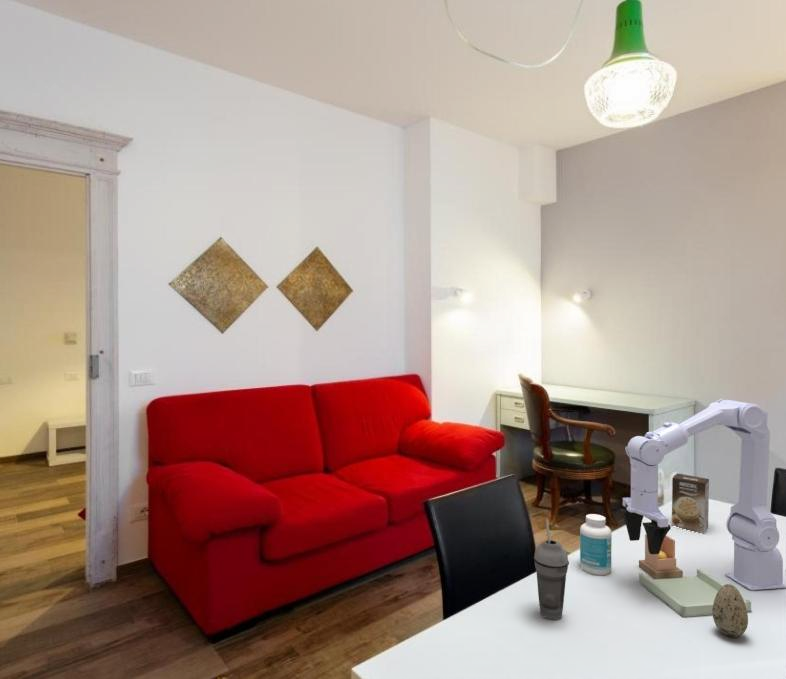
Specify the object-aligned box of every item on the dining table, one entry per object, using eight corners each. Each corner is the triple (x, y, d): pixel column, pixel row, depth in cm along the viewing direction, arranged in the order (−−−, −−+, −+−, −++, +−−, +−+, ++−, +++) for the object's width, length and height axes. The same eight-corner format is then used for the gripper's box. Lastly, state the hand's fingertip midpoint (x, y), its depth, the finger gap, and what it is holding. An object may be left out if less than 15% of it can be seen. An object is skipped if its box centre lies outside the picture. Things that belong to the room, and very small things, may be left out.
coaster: (664, 566, 133) (664, 558, 133) (682, 579, 126) (682, 571, 126) (638, 567, 132) (638, 560, 132) (656, 581, 125) (656, 572, 125)
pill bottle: (614, 578, 127) (614, 523, 126) (582, 575, 128) (582, 521, 128) (607, 564, 134) (608, 512, 134) (578, 562, 135) (578, 511, 135)
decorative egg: (740, 647, 99) (740, 595, 99) (707, 632, 103) (707, 583, 103) (752, 636, 102) (753, 586, 102) (719, 623, 107) (720, 575, 107)
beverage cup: (550, 626, 106) (551, 529, 106) (526, 609, 112) (526, 518, 112) (576, 617, 109) (576, 523, 109) (551, 601, 116) (551, 512, 115)
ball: (662, 560, 131) (662, 548, 131) (669, 565, 128) (669, 553, 128) (651, 560, 130) (651, 549, 130) (658, 566, 127) (658, 554, 127)
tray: (699, 578, 127) (699, 569, 127) (751, 611, 111) (751, 601, 111) (638, 582, 125) (638, 573, 124) (682, 617, 109) (682, 607, 109)
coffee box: (670, 529, 158) (670, 477, 158) (675, 523, 163) (675, 472, 162) (704, 537, 152) (705, 482, 152) (709, 530, 157) (709, 478, 156)
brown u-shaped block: (663, 560, 132) (663, 533, 132) (676, 569, 127) (676, 541, 127) (644, 561, 131) (645, 534, 131) (657, 570, 126) (657, 542, 126)
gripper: (611, 480, 127) (611, 535, 127) (647, 499, 113) (647, 561, 113) (637, 479, 128) (637, 533, 128) (677, 498, 114) (676, 559, 114)
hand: (644, 546), depth 121 cm, fingers open, 7 cm apart
